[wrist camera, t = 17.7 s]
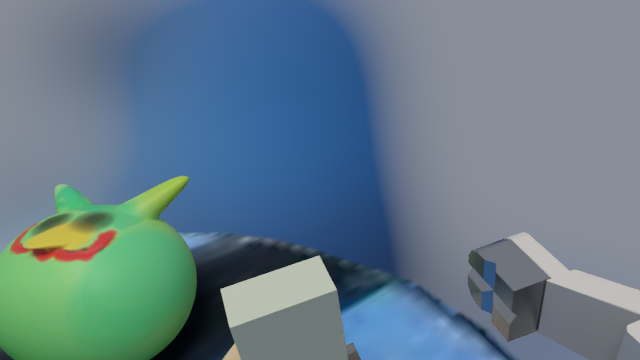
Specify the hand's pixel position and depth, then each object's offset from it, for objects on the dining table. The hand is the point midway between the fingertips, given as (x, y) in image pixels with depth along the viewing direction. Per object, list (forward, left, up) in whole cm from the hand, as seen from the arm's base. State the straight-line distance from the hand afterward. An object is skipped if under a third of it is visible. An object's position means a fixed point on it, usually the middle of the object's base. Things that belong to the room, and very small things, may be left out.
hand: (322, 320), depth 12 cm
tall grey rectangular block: (-9, +8, -27) cm, 29 cm away
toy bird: (-32, +10, -28) cm, 44 cm away
